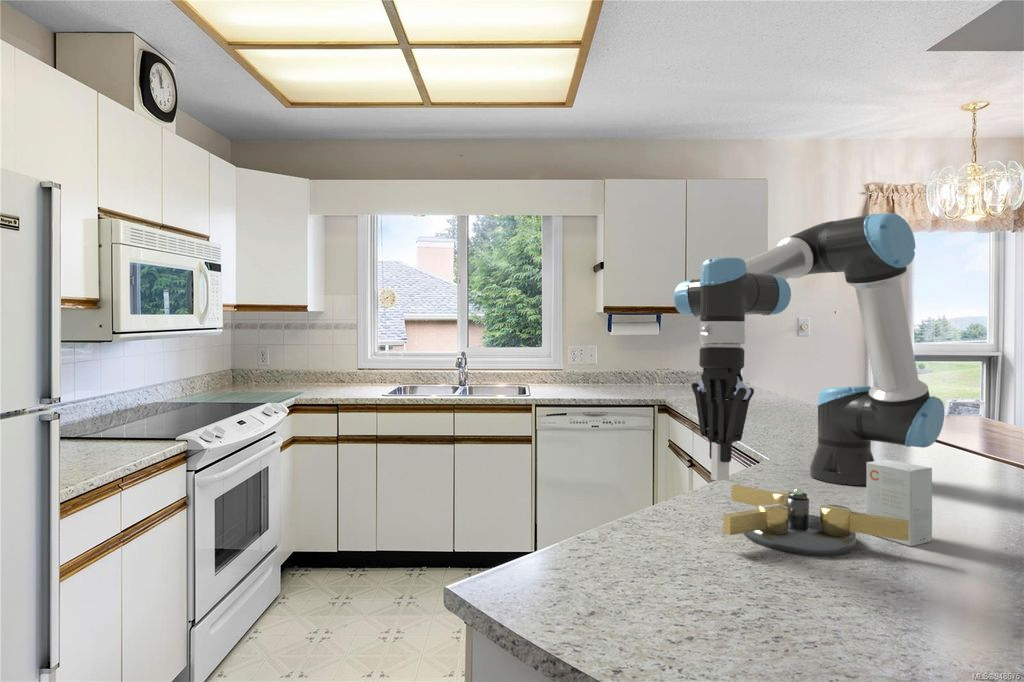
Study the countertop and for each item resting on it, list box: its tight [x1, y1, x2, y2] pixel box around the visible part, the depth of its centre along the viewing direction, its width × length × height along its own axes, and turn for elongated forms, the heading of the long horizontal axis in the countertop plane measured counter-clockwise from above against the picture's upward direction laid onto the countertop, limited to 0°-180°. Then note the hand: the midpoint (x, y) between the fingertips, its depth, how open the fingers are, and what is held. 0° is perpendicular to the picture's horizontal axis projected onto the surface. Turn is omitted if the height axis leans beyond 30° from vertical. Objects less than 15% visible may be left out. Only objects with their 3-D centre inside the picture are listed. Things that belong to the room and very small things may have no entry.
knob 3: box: [819, 504, 909, 541], centre depth 101 cm, size 13×5×4 cm, turn 54°
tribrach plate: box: [743, 488, 857, 557], centre depth 107 cm, size 18×18×9 cm
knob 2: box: [722, 503, 788, 536], centre depth 103 cm, size 13×5×4 cm, turn 114°
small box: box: [865, 459, 933, 547], centre depth 108 cm, size 8×6×13 cm
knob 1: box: [731, 483, 791, 507], centre depth 116 cm, size 13×5×4 cm, turn 40°
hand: (719, 479), depth 107 cm, fingers closed
